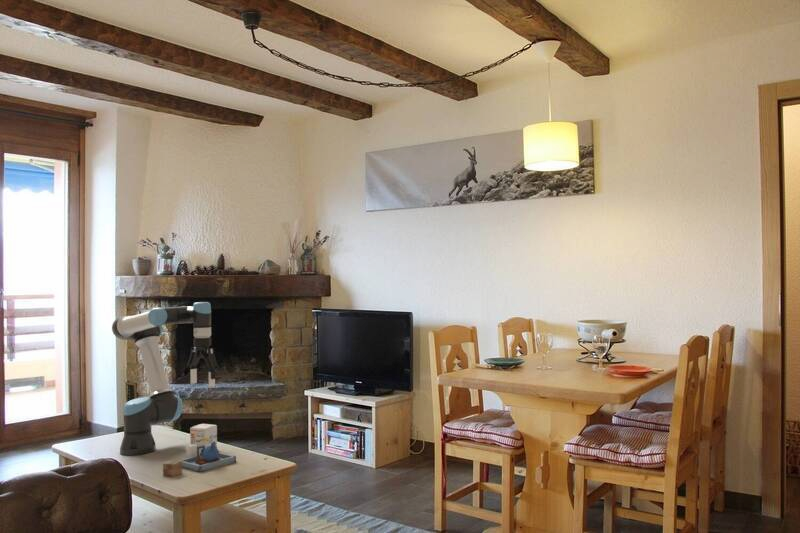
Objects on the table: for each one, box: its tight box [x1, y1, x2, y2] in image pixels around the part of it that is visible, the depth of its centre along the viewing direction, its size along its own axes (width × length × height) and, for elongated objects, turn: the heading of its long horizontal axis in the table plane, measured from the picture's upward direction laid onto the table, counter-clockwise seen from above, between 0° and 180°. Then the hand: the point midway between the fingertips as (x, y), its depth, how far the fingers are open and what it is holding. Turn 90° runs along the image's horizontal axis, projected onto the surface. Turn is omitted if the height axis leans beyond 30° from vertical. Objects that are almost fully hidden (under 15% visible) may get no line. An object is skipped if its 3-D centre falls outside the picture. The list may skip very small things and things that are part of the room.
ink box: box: [189, 423, 218, 454], centre depth 295 cm, size 9×8×12 cm
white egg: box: [186, 444, 197, 459], centre depth 282 cm, size 4×4×6 cm
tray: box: [178, 452, 237, 473], centre depth 274 cm, size 15×18×2 cm
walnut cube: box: [162, 459, 183, 478], centre depth 260 cm, size 5×5×5 cm
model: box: [195, 441, 221, 465], centre depth 274 cm, size 12×9×9 cm
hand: (202, 385), depth 291 cm, fingers open, 13 cm apart
